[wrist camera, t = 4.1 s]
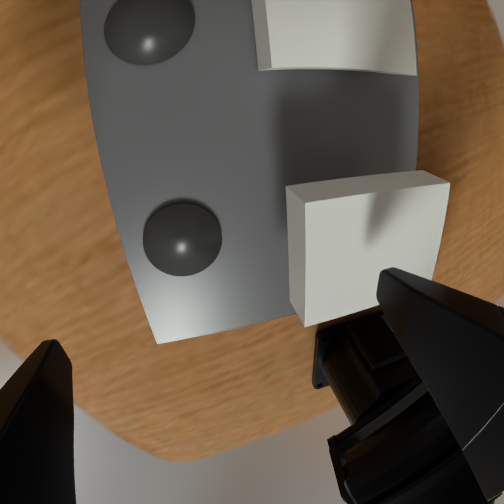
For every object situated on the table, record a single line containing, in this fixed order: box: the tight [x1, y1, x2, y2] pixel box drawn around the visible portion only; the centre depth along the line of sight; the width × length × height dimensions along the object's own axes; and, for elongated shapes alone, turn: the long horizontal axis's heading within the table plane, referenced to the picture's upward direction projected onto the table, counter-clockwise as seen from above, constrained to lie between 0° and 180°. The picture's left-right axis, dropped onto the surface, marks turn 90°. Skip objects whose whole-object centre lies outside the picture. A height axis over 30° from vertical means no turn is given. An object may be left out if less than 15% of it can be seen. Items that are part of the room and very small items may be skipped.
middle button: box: [251, 0, 417, 76], centre depth 8 cm, size 4×6×2 cm
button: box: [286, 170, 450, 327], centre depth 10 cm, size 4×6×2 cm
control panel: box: [80, 0, 419, 344], centre depth 10 cm, size 26×13×3 cm, turn 5°
